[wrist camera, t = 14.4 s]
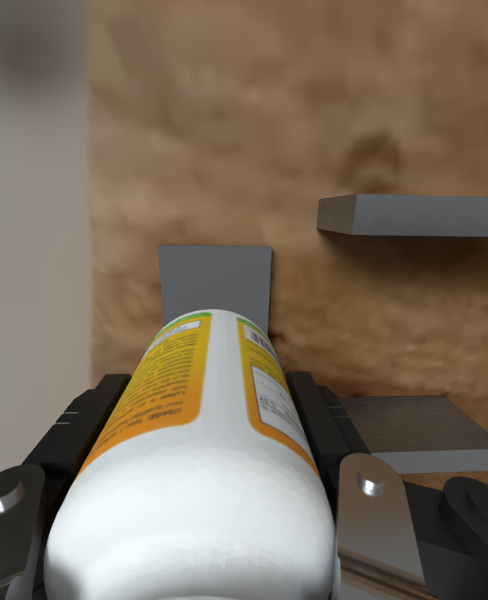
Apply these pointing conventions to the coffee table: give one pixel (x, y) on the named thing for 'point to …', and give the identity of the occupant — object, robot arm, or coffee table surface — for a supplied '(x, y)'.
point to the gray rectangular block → (216, 280)
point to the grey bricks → (413, 409)
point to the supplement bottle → (197, 481)
